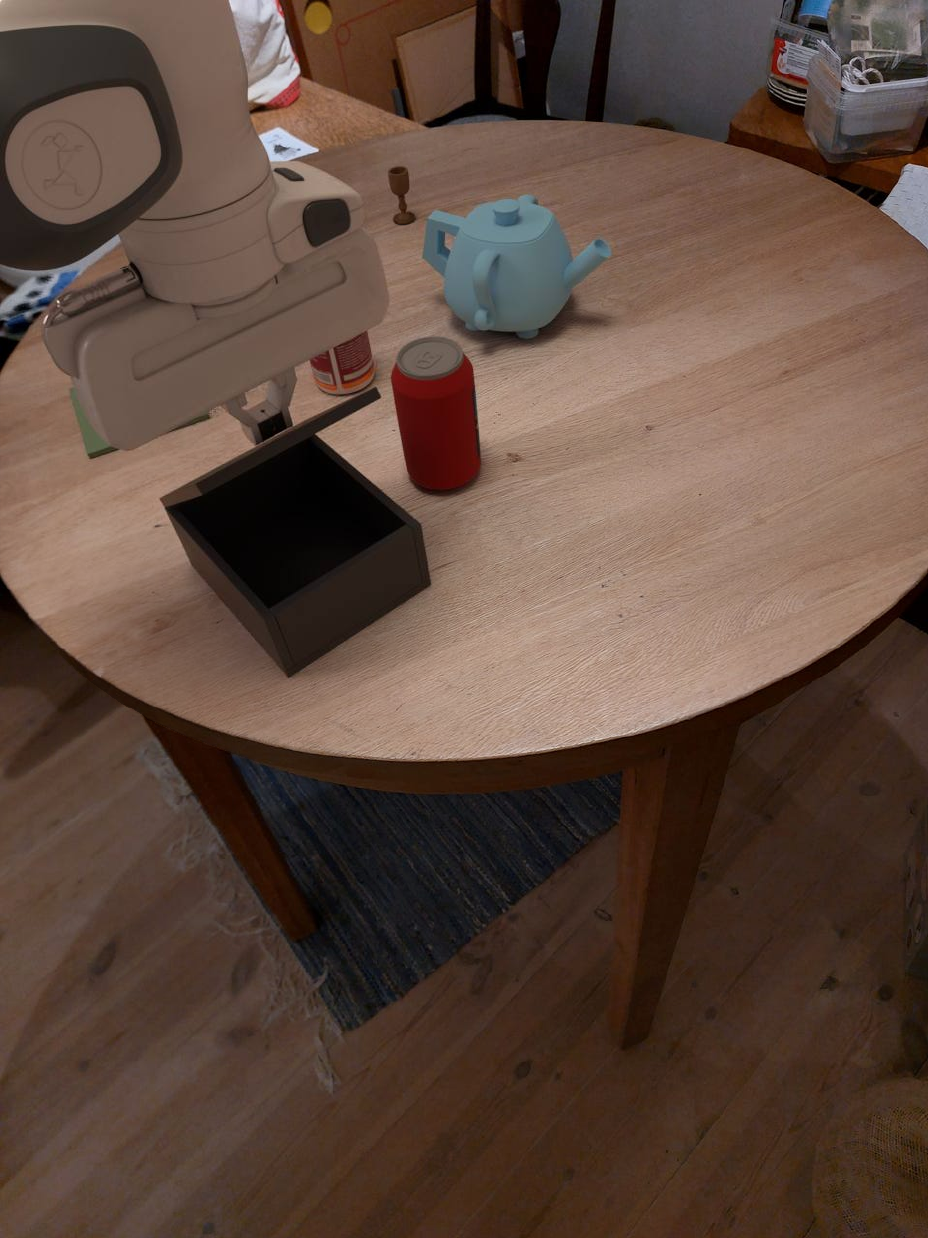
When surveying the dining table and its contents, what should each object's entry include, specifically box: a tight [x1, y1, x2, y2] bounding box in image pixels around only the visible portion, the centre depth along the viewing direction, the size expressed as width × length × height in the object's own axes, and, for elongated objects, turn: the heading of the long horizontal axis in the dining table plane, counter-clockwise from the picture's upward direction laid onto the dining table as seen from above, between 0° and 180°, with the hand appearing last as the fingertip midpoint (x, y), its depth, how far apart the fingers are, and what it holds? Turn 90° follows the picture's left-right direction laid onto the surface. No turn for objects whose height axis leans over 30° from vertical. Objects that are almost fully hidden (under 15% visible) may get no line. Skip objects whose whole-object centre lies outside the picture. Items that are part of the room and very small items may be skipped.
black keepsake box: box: [164, 433, 432, 678], centre depth 69 cm, size 16×14×7 cm
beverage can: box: [390, 336, 482, 491], centre depth 74 cm, size 7×7×12 cm
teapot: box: [421, 194, 612, 339], centre depth 89 cm, size 20×17×12 cm
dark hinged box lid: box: [158, 386, 382, 508], centre depth 63 cm, size 16×14×1 cm
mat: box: [68, 386, 211, 459], centre depth 88 cm, size 12×12×1 cm
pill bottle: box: [309, 330, 376, 395], centre depth 84 cm, size 6×6×11 cm
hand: (269, 432), depth 59 cm, fingers closed, pressing on dark hinged box lid
